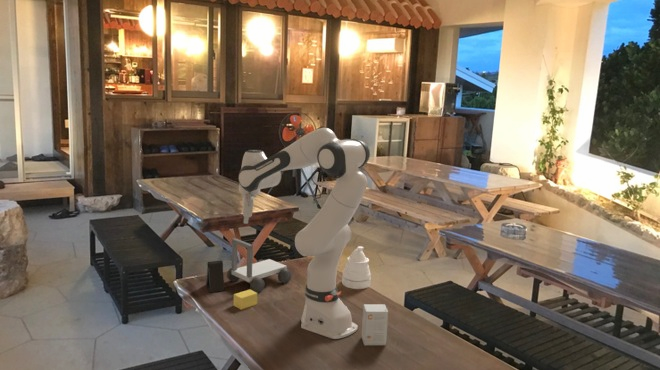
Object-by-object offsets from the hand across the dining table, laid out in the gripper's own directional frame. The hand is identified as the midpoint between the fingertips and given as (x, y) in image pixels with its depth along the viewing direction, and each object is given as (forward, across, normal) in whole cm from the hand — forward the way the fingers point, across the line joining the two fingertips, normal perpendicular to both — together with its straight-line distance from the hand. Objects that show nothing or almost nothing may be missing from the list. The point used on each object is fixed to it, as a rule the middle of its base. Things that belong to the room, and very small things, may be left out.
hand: (245, 218), depth 225 cm
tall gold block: (+30, -18, -4) cm, 35 cm away
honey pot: (+27, +3, -54) cm, 60 cm away
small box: (+22, -50, -48) cm, 73 cm away
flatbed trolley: (+32, +6, -10) cm, 34 cm away
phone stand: (+34, 0, +9) cm, 35 cm away
